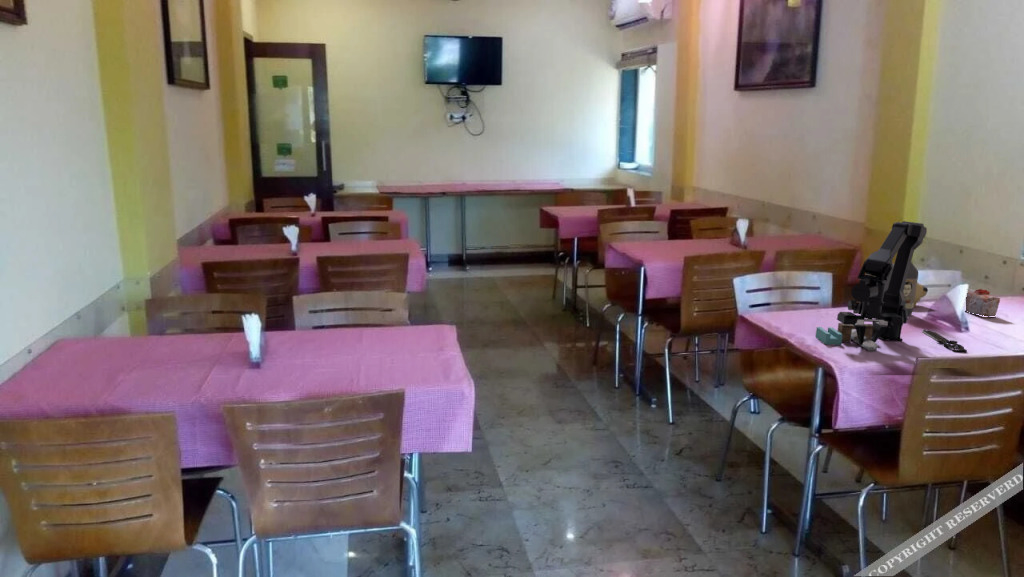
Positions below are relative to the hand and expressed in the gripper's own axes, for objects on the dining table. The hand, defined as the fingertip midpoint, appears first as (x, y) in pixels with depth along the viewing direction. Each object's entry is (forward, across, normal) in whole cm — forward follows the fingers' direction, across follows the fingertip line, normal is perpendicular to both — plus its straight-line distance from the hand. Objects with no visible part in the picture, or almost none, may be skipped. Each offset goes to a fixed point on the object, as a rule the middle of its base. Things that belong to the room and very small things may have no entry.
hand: (866, 344), depth 245 cm
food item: (+1, -65, -49) cm, 82 cm away
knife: (+2, -30, -11) cm, 32 cm away
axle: (+1, 0, -4) cm, 4 cm away
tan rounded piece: (+1, -44, -60) cm, 75 cm away
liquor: (+1, -33, -47) cm, 57 cm away
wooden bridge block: (+1, 0, -8) cm, 8 cm away
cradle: (+1, +10, -6) cm, 12 cm away
